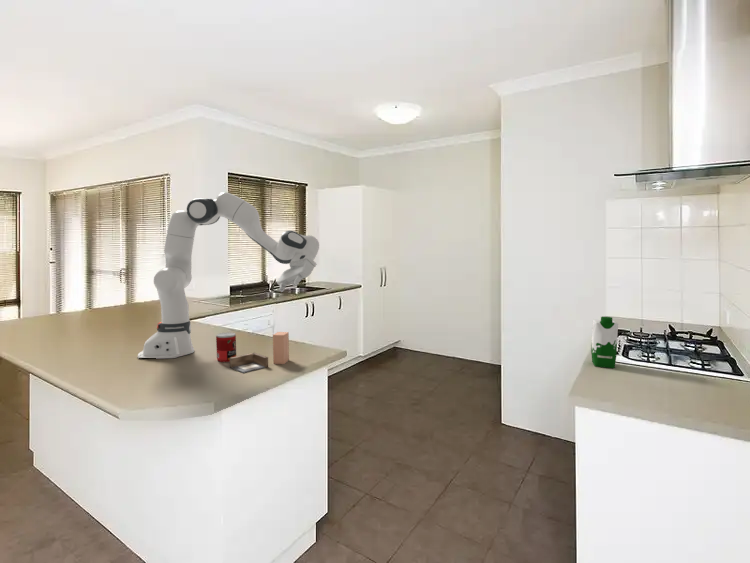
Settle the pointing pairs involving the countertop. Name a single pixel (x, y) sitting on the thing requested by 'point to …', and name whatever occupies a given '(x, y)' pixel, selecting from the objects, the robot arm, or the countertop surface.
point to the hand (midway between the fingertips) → (287, 288)
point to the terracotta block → (281, 347)
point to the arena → (248, 362)
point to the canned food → (225, 346)
